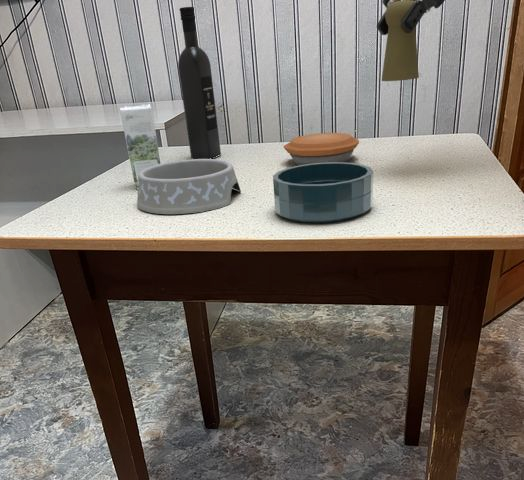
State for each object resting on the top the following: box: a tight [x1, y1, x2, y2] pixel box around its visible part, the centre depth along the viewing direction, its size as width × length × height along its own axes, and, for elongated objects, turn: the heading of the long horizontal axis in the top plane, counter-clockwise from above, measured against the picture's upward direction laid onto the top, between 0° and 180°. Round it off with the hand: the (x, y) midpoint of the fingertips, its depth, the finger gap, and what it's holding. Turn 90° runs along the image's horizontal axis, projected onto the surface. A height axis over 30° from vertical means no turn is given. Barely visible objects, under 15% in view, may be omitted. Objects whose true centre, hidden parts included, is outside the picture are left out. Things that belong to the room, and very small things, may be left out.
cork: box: [381, 0, 420, 82], centre depth 87 cm, size 6×6×11 cm
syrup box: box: [119, 103, 162, 190], centre depth 102 cm, size 6×6×14 cm
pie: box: [283, 132, 360, 166], centre depth 111 cm, size 15×16×5 cm
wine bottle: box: [177, 6, 222, 159], centre depth 119 cm, size 6×6×30 cm
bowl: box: [272, 162, 374, 224], centre depth 80 cm, size 15×15×6 cm
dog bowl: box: [136, 158, 242, 215], centre depth 92 cm, size 17×18×5 cm
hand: (392, 29), depth 85 cm, fingers closed on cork, 5 cm apart
